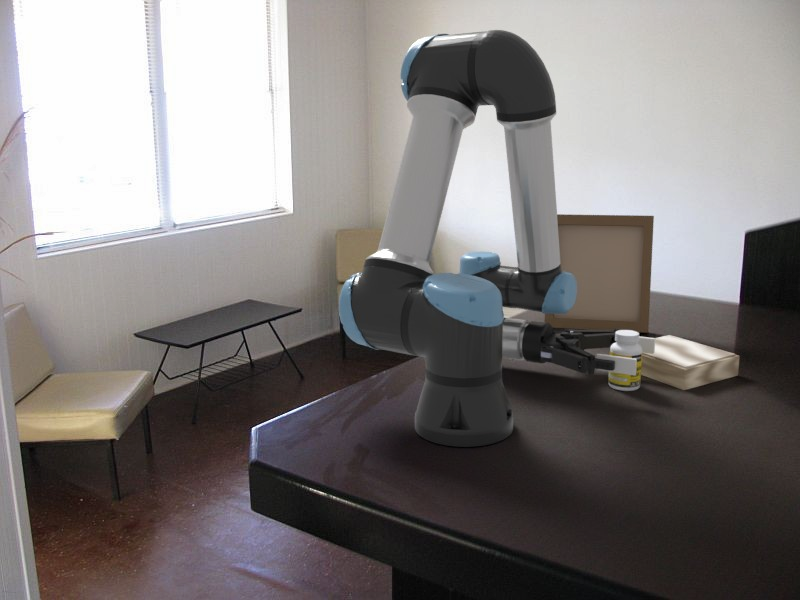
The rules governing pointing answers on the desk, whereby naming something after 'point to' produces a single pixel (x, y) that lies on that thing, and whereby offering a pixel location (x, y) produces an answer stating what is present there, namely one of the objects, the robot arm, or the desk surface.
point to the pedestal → (687, 363)
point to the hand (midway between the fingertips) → (645, 356)
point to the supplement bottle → (630, 349)
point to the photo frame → (606, 271)
